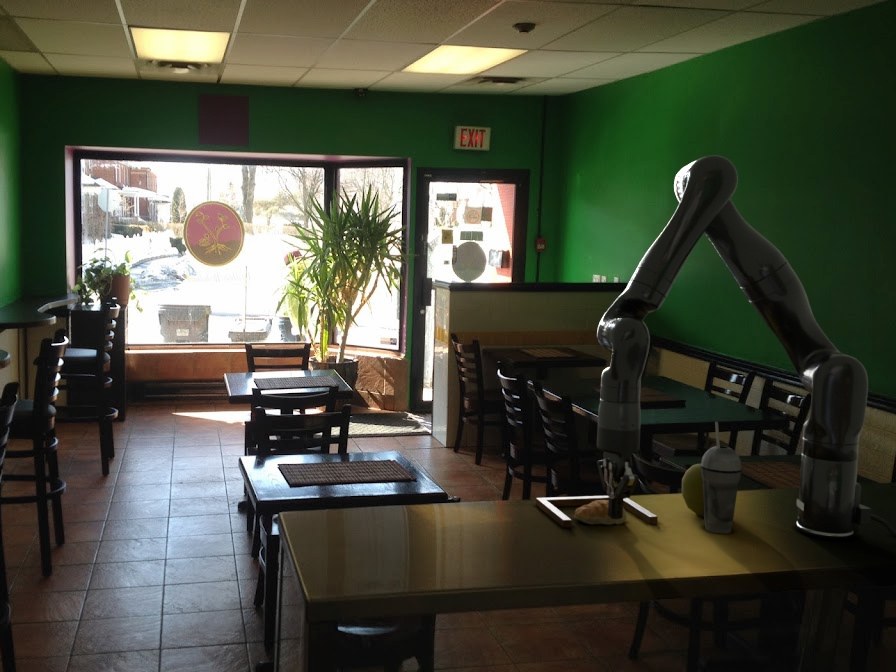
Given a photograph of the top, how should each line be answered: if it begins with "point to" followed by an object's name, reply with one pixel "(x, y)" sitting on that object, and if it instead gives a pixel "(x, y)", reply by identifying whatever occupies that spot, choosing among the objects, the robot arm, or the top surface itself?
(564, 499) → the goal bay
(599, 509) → the pastry
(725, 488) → the beverage cup
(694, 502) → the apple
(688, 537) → the top surface
